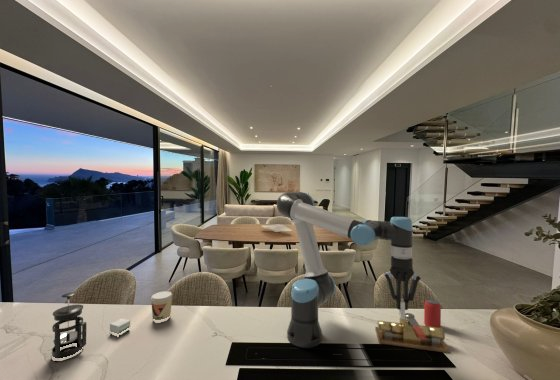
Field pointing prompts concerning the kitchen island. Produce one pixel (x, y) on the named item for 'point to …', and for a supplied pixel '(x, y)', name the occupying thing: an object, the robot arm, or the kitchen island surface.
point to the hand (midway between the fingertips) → (402, 317)
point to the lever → (415, 326)
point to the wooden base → (410, 336)
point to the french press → (68, 329)
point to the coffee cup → (161, 305)
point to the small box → (119, 325)
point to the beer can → (432, 313)
